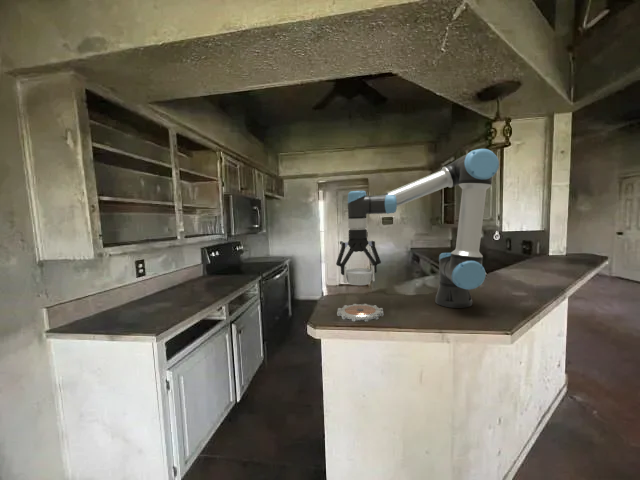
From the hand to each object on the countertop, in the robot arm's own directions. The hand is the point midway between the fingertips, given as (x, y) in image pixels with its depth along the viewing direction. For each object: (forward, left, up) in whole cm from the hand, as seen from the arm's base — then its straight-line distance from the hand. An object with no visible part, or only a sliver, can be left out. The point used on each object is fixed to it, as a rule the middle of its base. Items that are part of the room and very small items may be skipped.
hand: (359, 281), depth 131 cm
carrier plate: (0, 0, -14) cm, 14 cm away
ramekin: (0, 0, -1) cm, 1 cm away
